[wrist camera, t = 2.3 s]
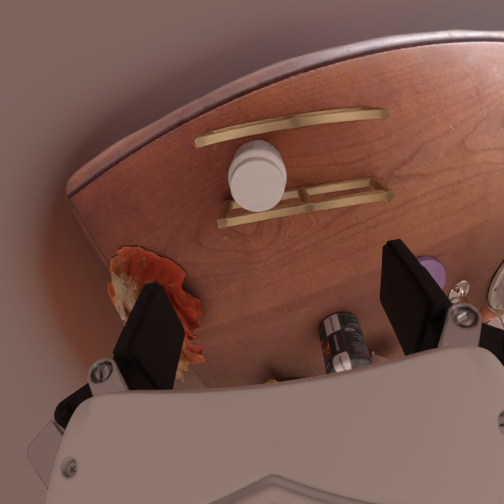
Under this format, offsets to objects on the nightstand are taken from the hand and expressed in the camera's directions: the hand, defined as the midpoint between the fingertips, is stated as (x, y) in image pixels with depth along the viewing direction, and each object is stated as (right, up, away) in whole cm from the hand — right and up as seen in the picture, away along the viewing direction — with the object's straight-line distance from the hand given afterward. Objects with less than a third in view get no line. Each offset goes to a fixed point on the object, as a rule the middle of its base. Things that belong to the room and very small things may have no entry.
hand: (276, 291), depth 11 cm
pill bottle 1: (0, +11, +16) cm, 19 cm away
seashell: (-8, -4, +20) cm, 22 cm away
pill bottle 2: (+11, -9, +27) cm, 31 cm away
